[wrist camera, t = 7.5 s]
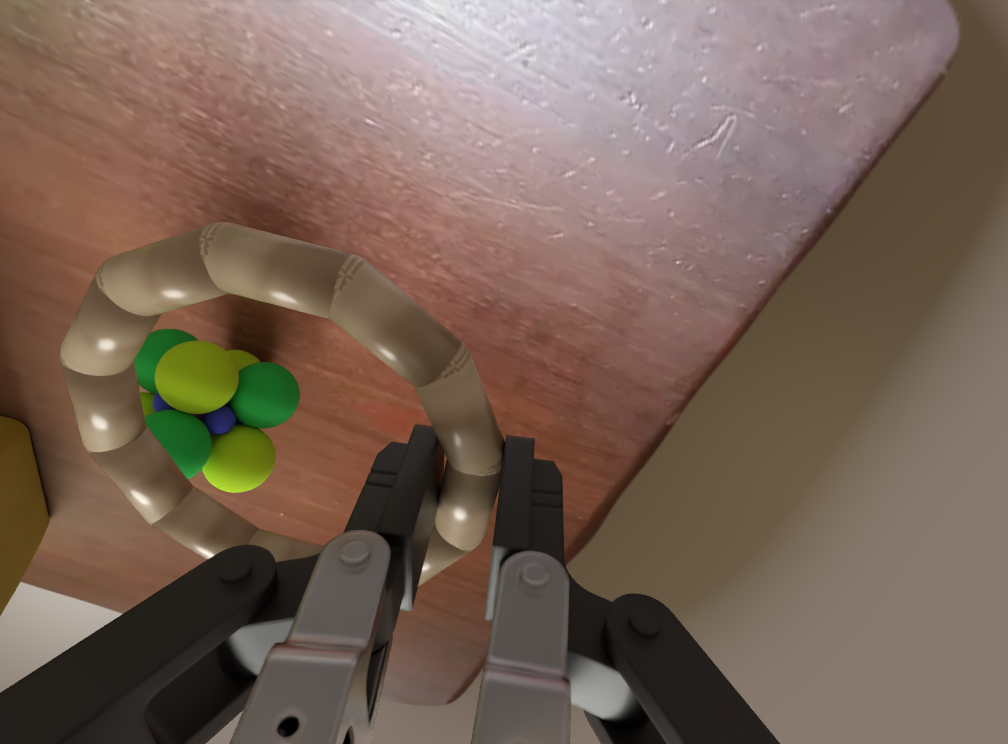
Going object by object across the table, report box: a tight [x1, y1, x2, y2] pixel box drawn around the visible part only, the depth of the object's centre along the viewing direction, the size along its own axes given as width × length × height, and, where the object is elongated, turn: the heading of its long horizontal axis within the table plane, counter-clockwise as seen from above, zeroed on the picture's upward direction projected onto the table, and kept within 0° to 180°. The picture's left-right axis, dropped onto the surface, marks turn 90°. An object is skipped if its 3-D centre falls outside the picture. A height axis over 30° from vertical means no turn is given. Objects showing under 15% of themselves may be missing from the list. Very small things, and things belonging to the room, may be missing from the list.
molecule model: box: [134, 329, 300, 493], centre depth 36 cm, size 9×9×9 cm
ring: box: [60, 222, 505, 586], centre depth 14 cm, size 11×11×1 cm
